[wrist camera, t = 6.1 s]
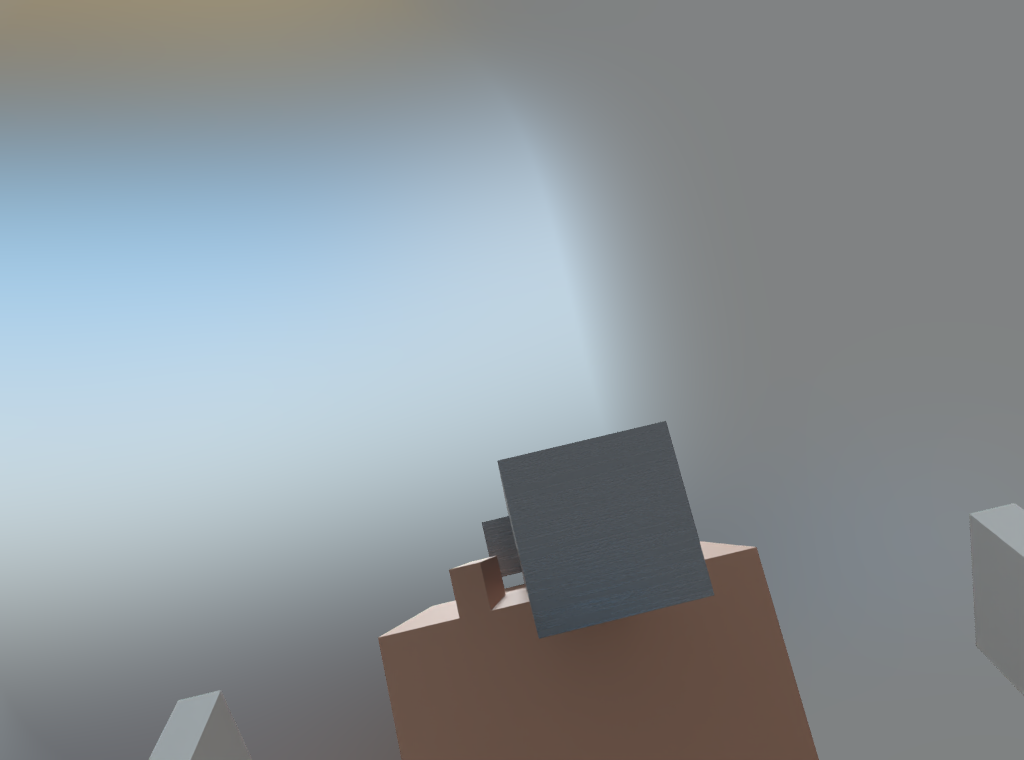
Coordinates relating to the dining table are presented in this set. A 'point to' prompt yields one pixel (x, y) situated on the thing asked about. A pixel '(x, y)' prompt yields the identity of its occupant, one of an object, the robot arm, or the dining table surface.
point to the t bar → (599, 530)
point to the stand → (598, 676)
